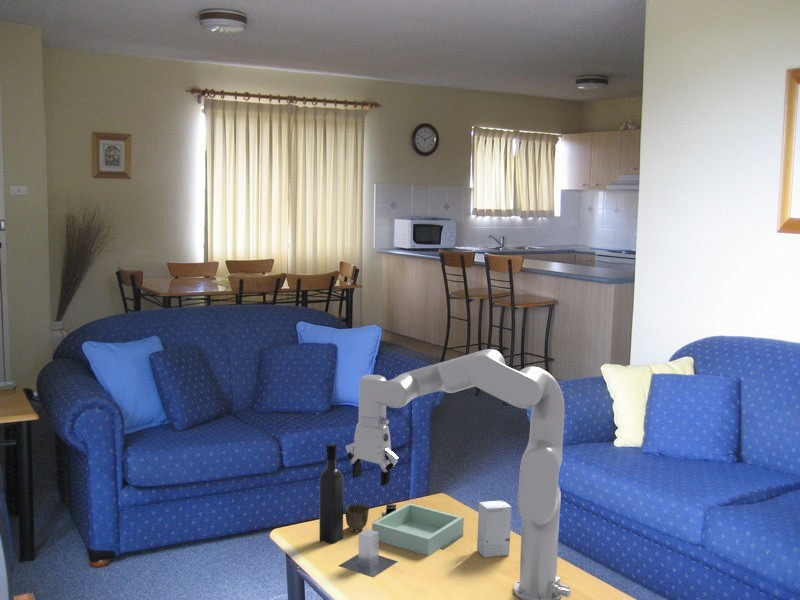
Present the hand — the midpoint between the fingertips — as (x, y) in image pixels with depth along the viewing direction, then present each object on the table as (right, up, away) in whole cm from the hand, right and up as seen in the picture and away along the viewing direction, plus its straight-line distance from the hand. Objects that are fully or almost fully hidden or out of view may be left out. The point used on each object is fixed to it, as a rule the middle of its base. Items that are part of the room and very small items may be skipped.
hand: (370, 480), depth 227 cm
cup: (-5, -22, +27) cm, 35 cm away
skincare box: (+35, -24, +14) cm, 45 cm away
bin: (+14, -23, +22) cm, 34 cm away
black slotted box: (+5, -21, +37) cm, 43 cm away
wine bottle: (-13, -23, +19) cm, 32 cm away
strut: (-1, -24, +3) cm, 24 cm away
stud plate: (-1, -25, +3) cm, 25 cm away
